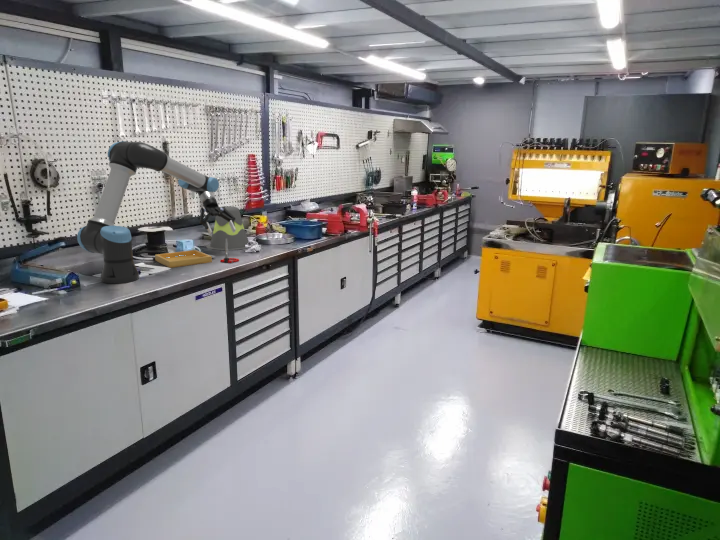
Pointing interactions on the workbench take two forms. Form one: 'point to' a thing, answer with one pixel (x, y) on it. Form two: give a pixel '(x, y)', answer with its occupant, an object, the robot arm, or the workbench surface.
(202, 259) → the parts tray
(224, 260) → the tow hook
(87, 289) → the workbench surface
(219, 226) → the gray green truncated cone
